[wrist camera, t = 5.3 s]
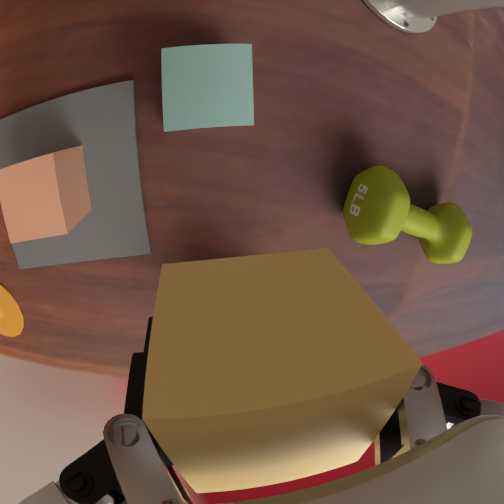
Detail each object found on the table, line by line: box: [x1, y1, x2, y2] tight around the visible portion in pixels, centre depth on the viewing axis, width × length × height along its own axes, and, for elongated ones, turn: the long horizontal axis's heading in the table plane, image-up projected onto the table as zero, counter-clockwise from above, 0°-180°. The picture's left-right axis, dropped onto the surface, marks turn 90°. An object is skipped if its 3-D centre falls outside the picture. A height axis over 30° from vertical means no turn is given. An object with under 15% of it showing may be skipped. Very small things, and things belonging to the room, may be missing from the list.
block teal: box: [161, 44, 254, 132], centre depth 19 cm, size 6×6×6 cm
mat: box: [0, 80, 151, 269], centre depth 21 cm, size 16×16×1 cm
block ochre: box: [142, 248, 422, 493], centre depth 9 cm, size 6×6×6 cm
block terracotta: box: [0, 145, 92, 243], centre depth 18 cm, size 6×6×6 cm
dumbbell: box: [343, 165, 472, 264], centre depth 27 cm, size 16×8×7 cm, turn 73°
